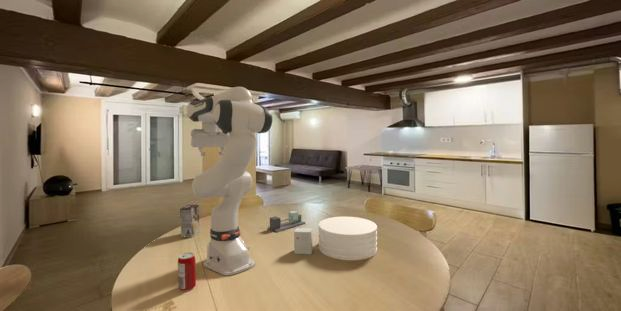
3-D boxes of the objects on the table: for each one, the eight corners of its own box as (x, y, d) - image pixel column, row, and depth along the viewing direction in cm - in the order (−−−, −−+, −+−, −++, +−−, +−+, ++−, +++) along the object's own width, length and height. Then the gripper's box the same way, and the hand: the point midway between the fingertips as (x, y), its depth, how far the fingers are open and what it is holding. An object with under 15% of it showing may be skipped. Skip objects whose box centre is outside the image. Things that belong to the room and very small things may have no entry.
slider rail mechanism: (305, 223, 165) (305, 212, 165) (276, 232, 150) (276, 220, 149) (296, 220, 171) (295, 210, 171) (267, 228, 156) (267, 217, 156)
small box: (312, 249, 125) (312, 228, 125) (311, 254, 120) (311, 232, 119) (296, 249, 126) (295, 227, 126) (294, 254, 121) (293, 231, 120)
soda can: (198, 283, 96) (197, 251, 95) (192, 291, 90) (191, 257, 90) (182, 283, 96) (181, 251, 95) (175, 292, 90) (174, 258, 89)
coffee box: (188, 232, 151) (188, 204, 150) (199, 232, 151) (199, 204, 150) (180, 237, 142) (179, 208, 141) (192, 237, 142) (191, 208, 141)
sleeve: (298, 220, 164) (298, 212, 163) (293, 222, 161) (293, 213, 161) (293, 219, 167) (293, 210, 167) (288, 220, 164) (288, 211, 164)
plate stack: (378, 263, 111) (378, 236, 111) (313, 257, 117) (313, 232, 116) (375, 239, 139) (375, 217, 138) (323, 235, 144) (323, 215, 144)
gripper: (193, 128, 129) (194, 156, 130) (231, 129, 143) (232, 155, 144) (188, 129, 134) (189, 156, 134) (226, 130, 148) (226, 154, 148)
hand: (211, 155), depth 139 cm, fingers open, 8 cm apart
